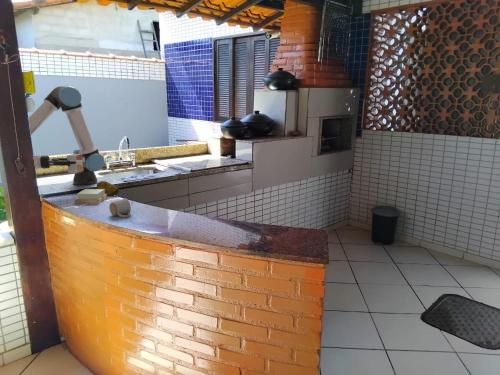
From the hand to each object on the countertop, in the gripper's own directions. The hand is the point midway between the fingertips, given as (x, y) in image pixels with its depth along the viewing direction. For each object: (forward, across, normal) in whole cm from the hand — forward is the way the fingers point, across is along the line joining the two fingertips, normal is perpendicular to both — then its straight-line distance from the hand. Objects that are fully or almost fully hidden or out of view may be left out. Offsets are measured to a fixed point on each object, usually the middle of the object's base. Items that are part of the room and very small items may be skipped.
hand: (83, 161), depth 217 cm
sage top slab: (+5, +18, -18) cm, 26 cm away
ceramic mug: (+23, +50, -20) cm, 59 cm away
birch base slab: (+5, +18, -21) cm, 28 cm away
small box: (-5, 0, -7) cm, 8 cm away
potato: (+13, +6, -20) cm, 24 cm away
